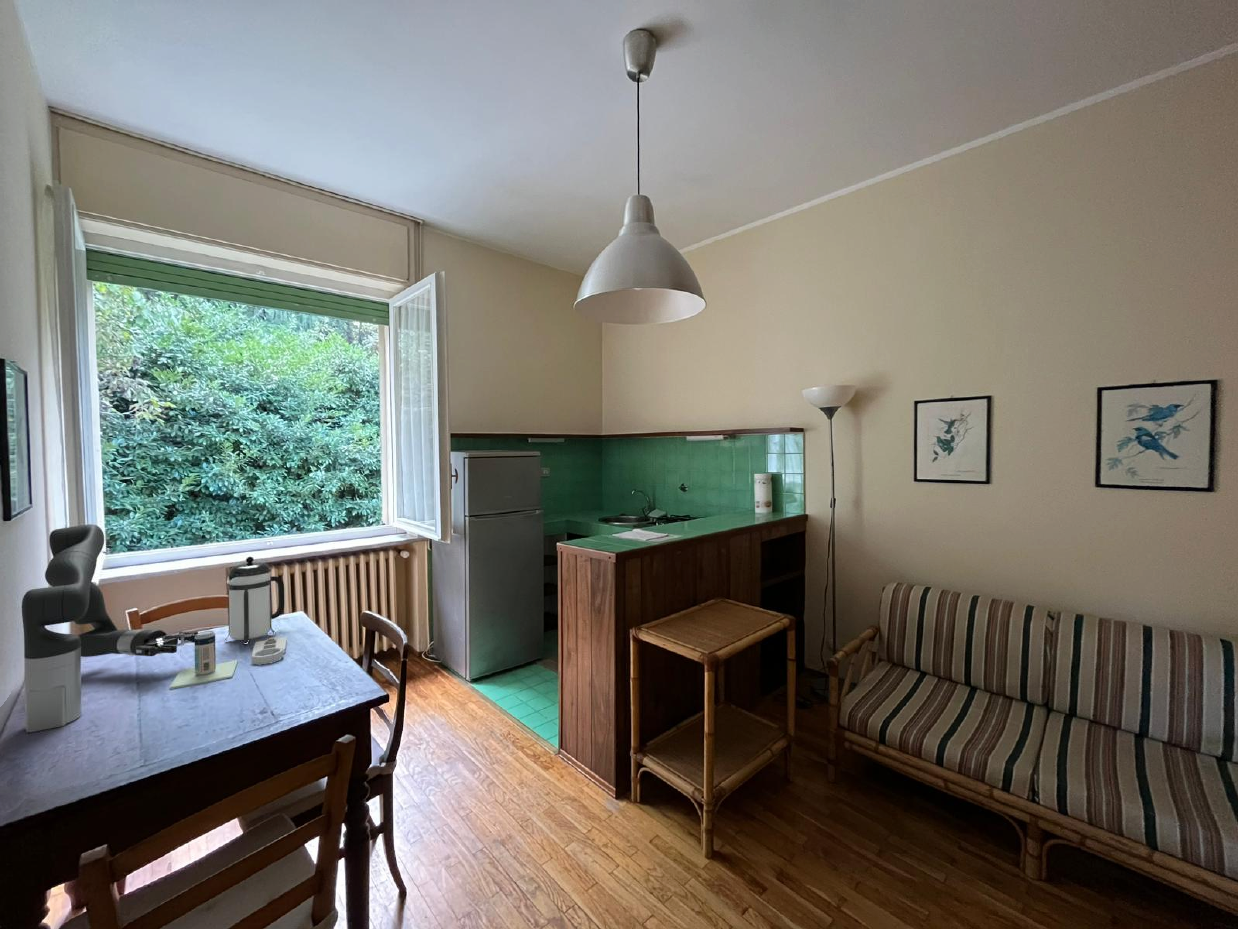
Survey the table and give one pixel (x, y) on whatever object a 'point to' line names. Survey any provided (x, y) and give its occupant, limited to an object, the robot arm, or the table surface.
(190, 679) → the sage mat
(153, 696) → the table surface
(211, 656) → the beer can
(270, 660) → the charging dock
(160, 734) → the table surface
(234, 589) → the coffee press
